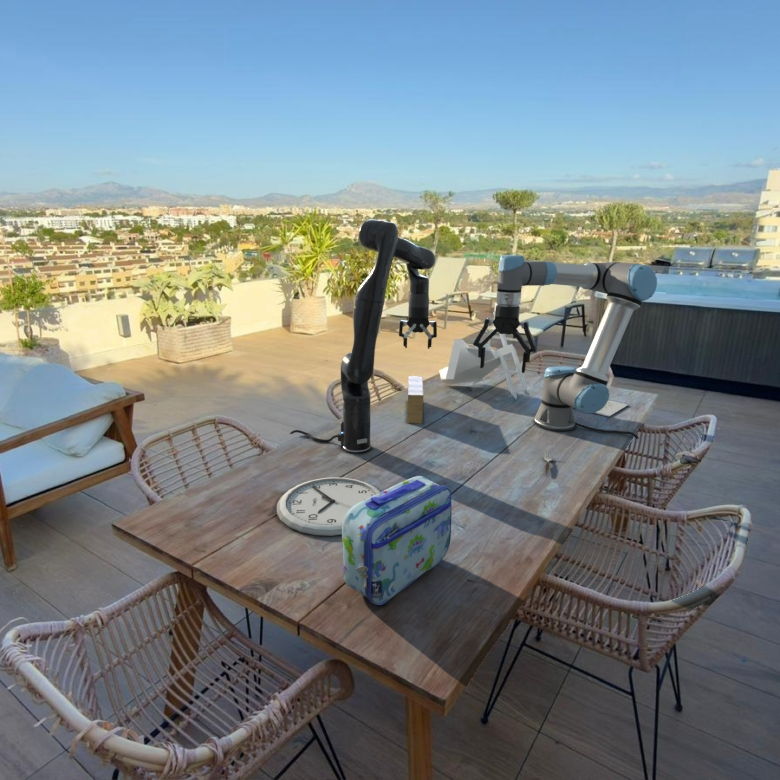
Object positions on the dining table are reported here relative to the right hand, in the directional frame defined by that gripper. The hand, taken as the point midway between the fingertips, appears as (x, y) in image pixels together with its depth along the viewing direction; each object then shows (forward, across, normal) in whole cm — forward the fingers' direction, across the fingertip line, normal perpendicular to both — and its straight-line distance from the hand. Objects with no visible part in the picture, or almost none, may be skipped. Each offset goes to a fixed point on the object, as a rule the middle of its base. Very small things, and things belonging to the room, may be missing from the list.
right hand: (502, 369), depth 173 cm
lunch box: (+28, -6, -78) cm, 84 cm away
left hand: (-1, -35, +15) cm, 38 cm away
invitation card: (+28, +34, +64) cm, 77 cm away
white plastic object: (+28, -20, +62) cm, 71 cm away
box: (+28, -38, +24) cm, 54 cm away
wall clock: (+28, -34, -57) cm, 72 cm away
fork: (+28, +18, -7) cm, 34 cm away
